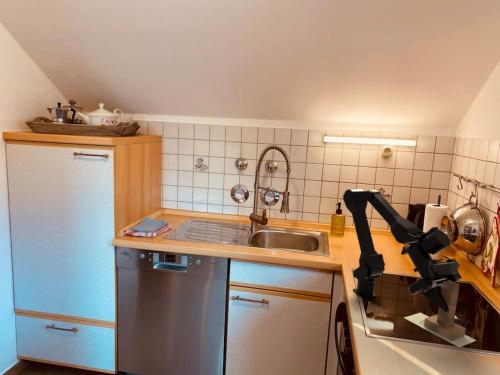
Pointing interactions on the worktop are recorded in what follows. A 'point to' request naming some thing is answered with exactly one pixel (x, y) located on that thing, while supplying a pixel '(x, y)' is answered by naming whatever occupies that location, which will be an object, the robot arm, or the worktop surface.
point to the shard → (375, 309)
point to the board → (419, 321)
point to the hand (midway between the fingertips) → (451, 310)
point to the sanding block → (447, 314)
